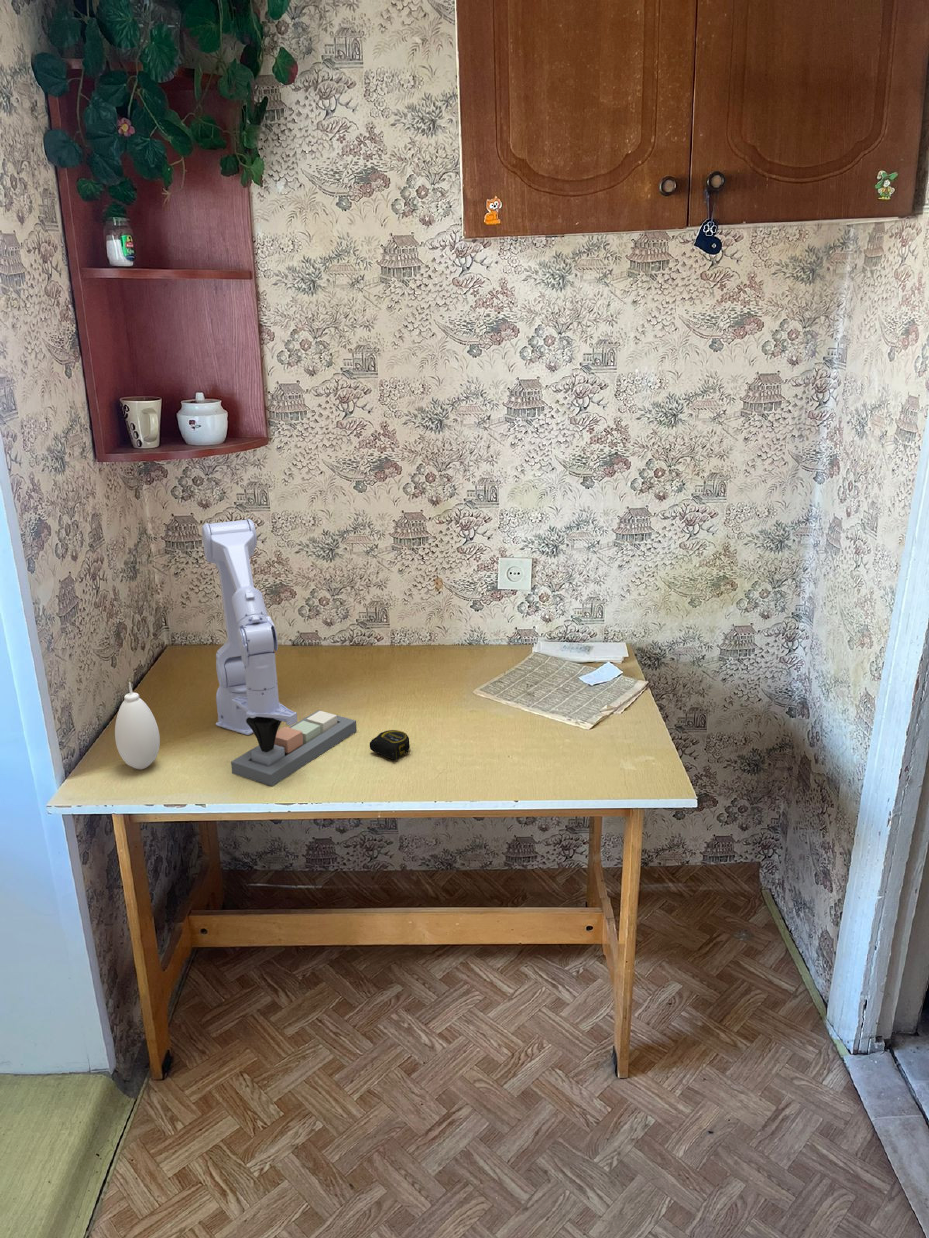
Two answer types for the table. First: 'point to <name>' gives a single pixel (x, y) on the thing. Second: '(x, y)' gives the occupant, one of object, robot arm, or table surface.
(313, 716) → the ivory key
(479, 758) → the table surface
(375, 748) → the tape measure
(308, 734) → the sage key
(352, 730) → the key panel
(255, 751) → the slate key
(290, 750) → the terracotta key
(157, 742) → the white bulb syringe
